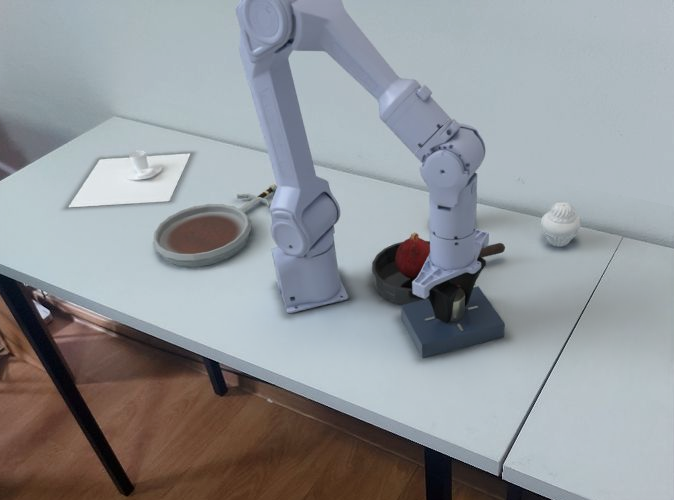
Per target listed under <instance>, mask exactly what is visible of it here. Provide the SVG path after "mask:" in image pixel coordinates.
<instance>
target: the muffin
mask: <svg viewBox="0 0 674 500" xmlns="http://www.w3.org/2000/svg"><path fill="white" fill-rule="evenodd" d="M540 223H541V227H542V228H541V229H542V232H543V234H544V236H545V238H546V240H547V242H548V244H549V245H551V246H553V247H557V248H558V247H562V248H563V247H565V246H567V245H568V244H569V243H570V242H571V241H572V240H573V238H574V237H576V235H577V234H578V233H579V232H578V231H579V230H580V229H581V225H582V221H581V218H580V217H579V216H578V215H577V213H576V211H575V207H574V206H573V204H571V203H569V202H565V201H561V202H560V201H559V202H556V203H555V204H553V205H552V206H551V209H550V210H549V211H547V212H545V214H543V216H542V217H541V221H540Z"/></svg>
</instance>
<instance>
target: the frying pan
mask: <svg viewBox="0 0 674 500" xmlns="http://www.w3.org/2000/svg"><path fill="white" fill-rule="evenodd" d="M276 189H277V184H274V183H270V184H269V187H268V188H267V189H266V190H263V192H262V193H260V194H259V195H255V194H251V193H237V194H236V198H237V200H238V199H250V200H249V201H247V202H246V203H244V204H243V205H242V206H240V207H239V208H238V207H236V206H234V205H229V204H223V203H206V204H199V205H193V206H191V207H188V208H184V209H182V210H181V209H180V210H179V211H177V212H175V213H173V214H171V215H169V216H168V217H167V218H165V219H164V220H163V221H161V222H160V223H159V224H158V226H157V228H156V229H155V231H154V233H153V238H152V245H153V247H154V249H155V251H156V252H157V253H159V254H160V255H161V257H162V258H163V259H164V260H166V261H167V262H169V263H170V264H173V265H176V266H181V267H185V268H186V267H187V268H188V267H191V268H192V267H193V268H194V267H197V268H198V267H204V266H210V265H211V266H212V265H214V264H217V263H220V262H222V261H225V260H228V259H230V258H231V257H233V256H234V255H236V254H238V253H239V252H240V251H241V250H242V249H243V248H244V247H245V246H246V245H247V242H248V240H249V237H250V232H251V229H252V223H251V219H250V218H249V217H248V215H247V214H246V213H245V212H246V211H248V210H249V209H251V208H252V207H254V206H255V205H256V204H258V203H259V202H260V203H263V204H266V206H267V208H268V209H269V210H270V206H271V204H270V202H269V200H268V199H267V198H266V197H267V196H269V195H270V194H271V193H275V192H276Z"/></svg>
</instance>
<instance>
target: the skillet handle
mask: <svg viewBox="0 0 674 500" xmlns="http://www.w3.org/2000/svg"><path fill="white" fill-rule="evenodd" d="M505 250H506V246H505V244H504V243H503V242H498V243H493V244H488V246H487V247H485V248H482V249H481V251H480V254H479V256H478V257H481V258H483V259H484V258H487V257H489V256H495V255H499V254H503V253H504V252H505Z"/></svg>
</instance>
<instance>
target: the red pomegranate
mask: <svg viewBox="0 0 674 500" xmlns="http://www.w3.org/2000/svg"><path fill="white" fill-rule="evenodd" d="M419 236H420V235H419V233H417V232H413V233H411V234H410V237H409V238H407V239H405V240H404V241H402V242H403V243H402V244H401V245H400V246H399V247H398V249H397V253H396V257H395V261H396V265H397V268H398V270H399V271H400V272H401V273H402V274H403V275H404V276H405V277H408V278H410V279H416V278H417V277H418V275H419V273H420V271H421V269H422V267H423V265H424V263H425V261H426V259H427V257H428V255H429V253H430V245H429V244H428V243H427V242H426V241H427V240H425V239H423V238H422V237H421V238H420V237H419Z"/></svg>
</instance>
